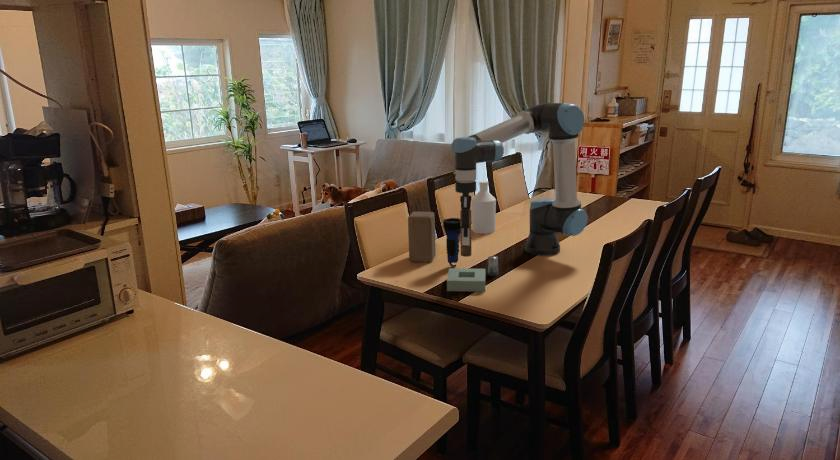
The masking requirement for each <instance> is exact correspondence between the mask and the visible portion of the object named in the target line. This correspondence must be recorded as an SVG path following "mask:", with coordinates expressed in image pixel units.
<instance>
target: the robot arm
mask: <svg viewBox="0 0 840 460" xmlns="http://www.w3.org/2000/svg"><path fill="white" fill-rule="evenodd" d="M584 126H585V115H584V112H583V110H582V109H581V108H580V107H579V106H578V105H576V104H573V103H568V102H544V103H543V102H542V103H540V104H536V105H534V106H531V107H528V108H527V109H523V110H522V111H520V112H519V113H517V115H516V116H514V117H511V118H509V119H507V120H504V121H502V122H500V123H497V124H495V125H493V126H491V127H488V128H486V129H483V130H481V131H479V132H476V133H474V134H471V135H469V136H462V137H455V139H453V141H452V142H451V146H450V148H451V153H452V155H454V169H455V171H453V175H454V176H455V183H454V186H455V189H454V190H455V192H456V193H459V194H460V193H461V195H460V198H459V199H460V200H459V201H460V210H462V227H460V228H462V245H470V231H469V210H471V208H472V195H470V193H471V194H473V193H475V192H476V191H477V164H480V163H487V162H496V161H499V160H501V159H502V158H503V156H504V152H505V150H504V149H505V148H504V145H503V143H505V142H507V141H508V142H509V141H510V140H512V139H514V138H517V137H520V136H521V135H523V134H525V135H530V134H532V133H536V132H544V133H545V132H546V133H548V140H549V141H550V142H552V151H553V152H552V153H553V156H552V157H553V170H554V171H553V172H554V189H555V191H554V193H555V198H551V197H549V198H538V199H534V200H532V201H531V202H530V205H529V234H528V237H527V239H526V241H525V242H526V243H525V245H524V250H525V252H526V253H528V254H531V255H535V256H536V255H537V256H552V255H557V254H559V253H560V252H561V244H560V242H559V238H558V235H557V233H559V234H561V235H562V234H563V235H565V236H570V237H576V236H578V235H580V234H582V232H584V229H585V228H586V226H587V224H588V220H589V219H588V213H587V212H586V210H585V209H583V208H582V202H581V200H580V199H578V194H577V193H578V189H577V187H578V186H577V167H576V166H577V164H576V140H577V139H578V138H579V135H580V133H581V132H582V131H583V129H584V128H583V127H584ZM471 225H472V221H471Z"/></svg>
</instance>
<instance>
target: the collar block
mask: <svg viewBox="0 0 840 460" xmlns="http://www.w3.org/2000/svg"><path fill="white" fill-rule="evenodd" d="M446 277H447V278H446V292H484V293H485V292H486V268H456V267H451V268H450V267H449V268H448V272H447V276H446Z"/></svg>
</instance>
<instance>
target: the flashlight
mask: <svg viewBox="0 0 840 460" xmlns="http://www.w3.org/2000/svg"><path fill="white" fill-rule="evenodd" d="M442 225H443V226H442V227H443V230H444V233H445V236H446V239H445V241H446V242H445V245H446V254H447V263H449V265H450V266H451V268H456V267H457V263H458V261H459V253H460V239H459V236H461V231H460V218H459V217H448V218H445V219H443V221H442Z"/></svg>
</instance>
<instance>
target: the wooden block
mask: <svg viewBox="0 0 840 460" xmlns="http://www.w3.org/2000/svg"><path fill="white" fill-rule="evenodd" d="M435 218H436V214H435V212H434V211H412V212H411V213H410V214H409V216H408V217H407V225H408V226H407V228H408V229H407V230H408V231H407V233H408V234H407V235H408V236H407V237H408V255H409V256H408V258H409V259H408V260H409V261H410V262H412V263H413V262H415V263H418V262H419V263H432V262H433V260H434V258H435V257H436V256H437V254H436V250H437V249H436V219H435Z"/></svg>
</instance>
